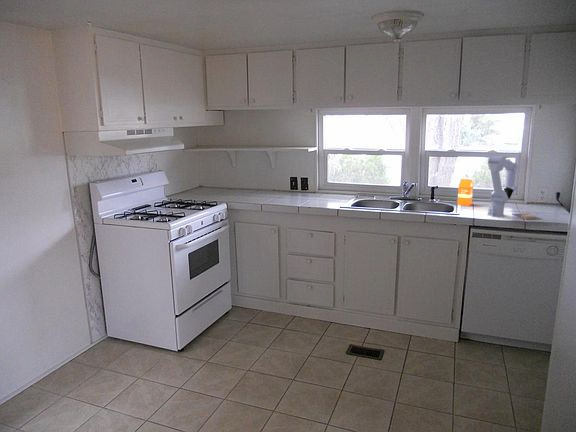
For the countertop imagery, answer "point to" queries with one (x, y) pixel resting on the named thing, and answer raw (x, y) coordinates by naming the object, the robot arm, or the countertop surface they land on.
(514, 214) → the mat
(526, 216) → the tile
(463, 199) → the orange juice
